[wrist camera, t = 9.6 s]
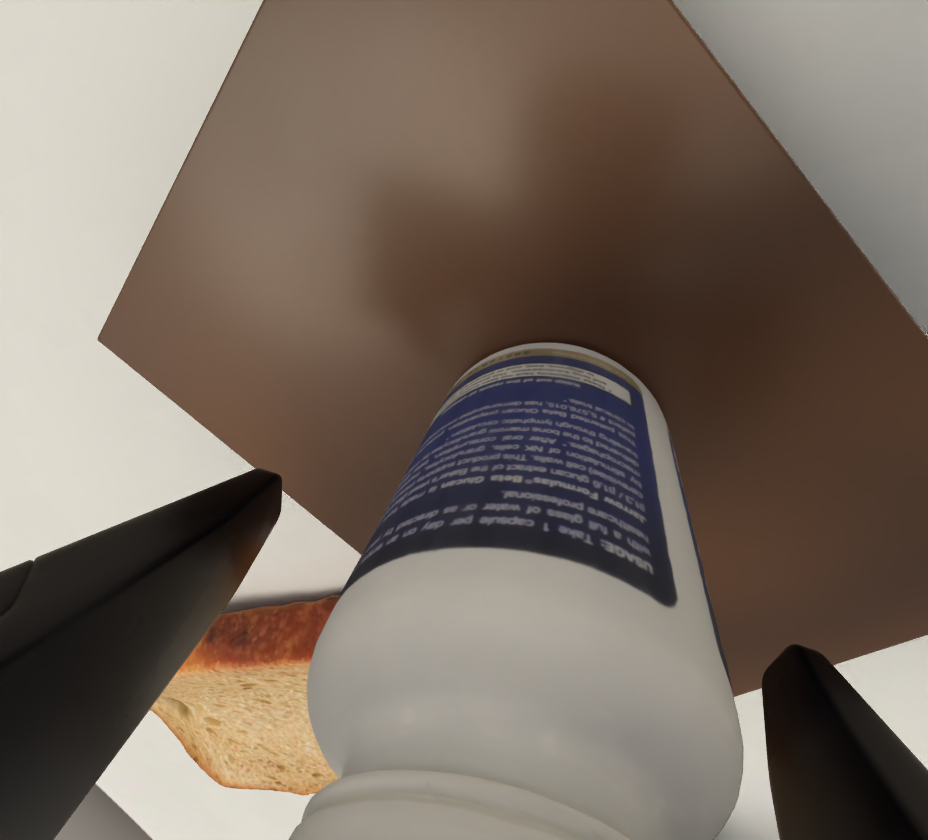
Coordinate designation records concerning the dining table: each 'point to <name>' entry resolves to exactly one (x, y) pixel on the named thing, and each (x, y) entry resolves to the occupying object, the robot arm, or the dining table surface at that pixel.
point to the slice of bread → (252, 699)
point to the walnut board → (543, 288)
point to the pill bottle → (529, 628)
